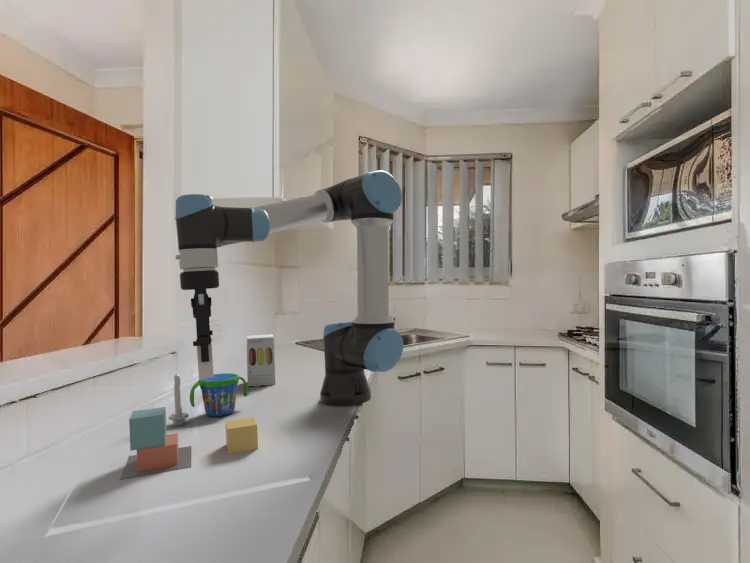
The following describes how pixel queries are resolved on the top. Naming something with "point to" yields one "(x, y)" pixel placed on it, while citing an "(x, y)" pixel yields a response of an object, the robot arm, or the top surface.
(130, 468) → the base
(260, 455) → the top surface
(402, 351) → the robot arm
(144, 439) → the teal brick
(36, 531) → the top surface
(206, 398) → the snack cup
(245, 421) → the ochre brick
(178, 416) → the screw
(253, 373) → the supplement box
